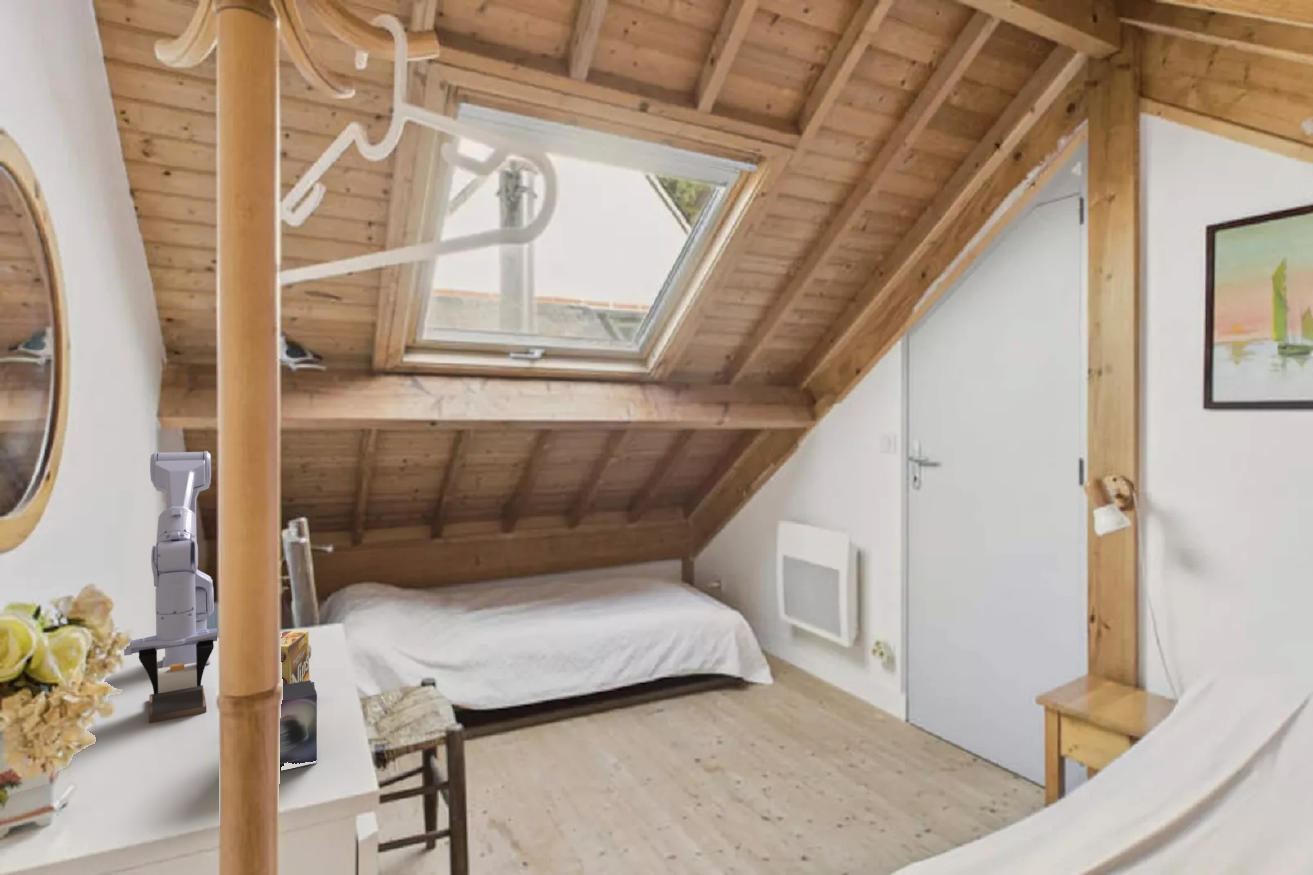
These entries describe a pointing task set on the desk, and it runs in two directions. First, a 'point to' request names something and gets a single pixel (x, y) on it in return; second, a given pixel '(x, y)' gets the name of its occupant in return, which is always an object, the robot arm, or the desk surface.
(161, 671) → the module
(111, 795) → the desk surface
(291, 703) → the small box
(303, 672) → the candy box
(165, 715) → the board
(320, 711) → the desk surface
